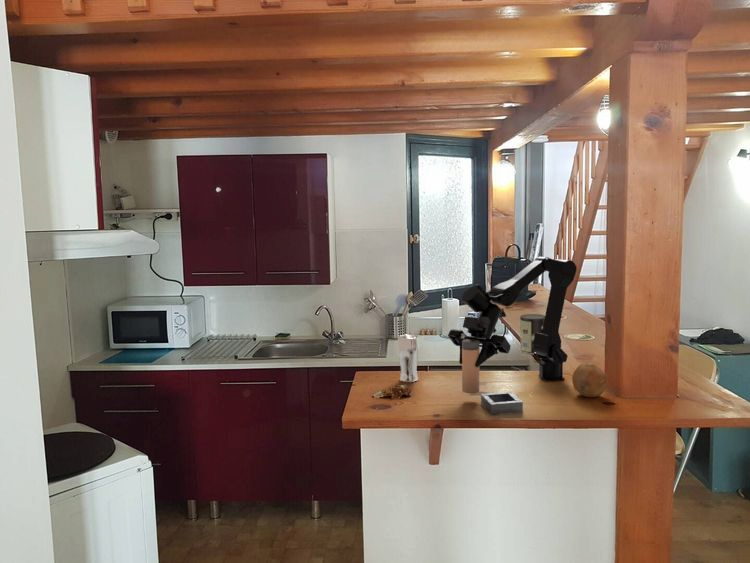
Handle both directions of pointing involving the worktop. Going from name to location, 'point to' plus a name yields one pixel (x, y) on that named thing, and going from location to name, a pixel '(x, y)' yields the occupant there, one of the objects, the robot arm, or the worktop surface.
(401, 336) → the beer glass
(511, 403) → the collar
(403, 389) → the mottled brown lump
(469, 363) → the cylindrical peg
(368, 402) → the worktop surface
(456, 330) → the robot arm
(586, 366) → the mottled tan ball
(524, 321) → the coffee can
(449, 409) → the worktop surface
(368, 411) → the worktop surface
